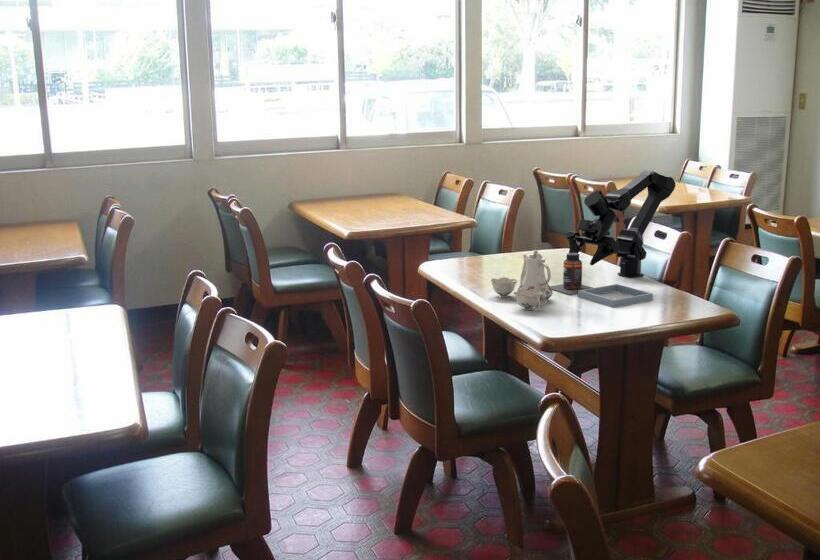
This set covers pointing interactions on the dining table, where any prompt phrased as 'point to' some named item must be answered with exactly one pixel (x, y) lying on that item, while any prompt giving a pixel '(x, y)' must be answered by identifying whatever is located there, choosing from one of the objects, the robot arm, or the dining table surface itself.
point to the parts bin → (635, 298)
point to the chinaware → (527, 283)
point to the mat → (568, 291)
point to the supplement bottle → (572, 272)
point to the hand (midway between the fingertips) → (579, 262)
